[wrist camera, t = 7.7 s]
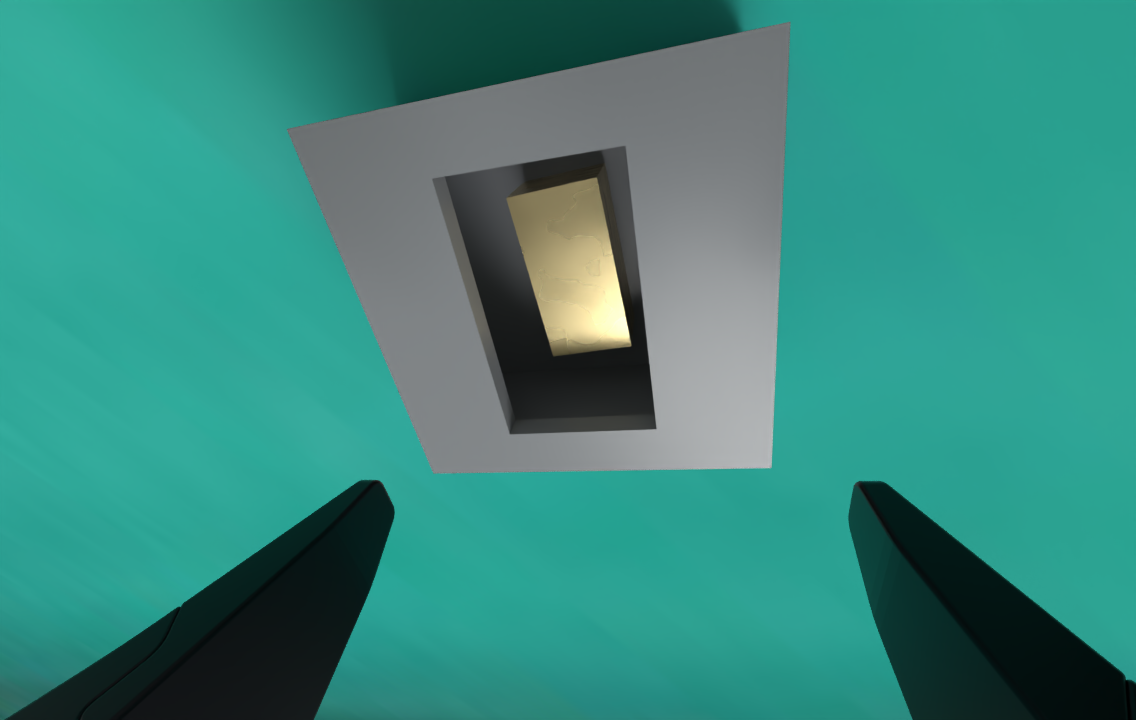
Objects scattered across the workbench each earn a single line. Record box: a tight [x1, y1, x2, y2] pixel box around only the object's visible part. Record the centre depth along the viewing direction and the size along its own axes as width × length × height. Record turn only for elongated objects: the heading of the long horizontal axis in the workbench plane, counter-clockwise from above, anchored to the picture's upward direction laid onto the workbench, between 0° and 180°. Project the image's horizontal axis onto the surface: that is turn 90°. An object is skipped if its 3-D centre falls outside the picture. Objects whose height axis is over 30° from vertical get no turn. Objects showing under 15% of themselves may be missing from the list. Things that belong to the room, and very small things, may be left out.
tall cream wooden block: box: [506, 163, 635, 356], centre depth 18 cm, size 3×6×2 cm, turn 14°
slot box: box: [287, 22, 790, 473], centre depth 16 cm, size 12×12×6 cm
